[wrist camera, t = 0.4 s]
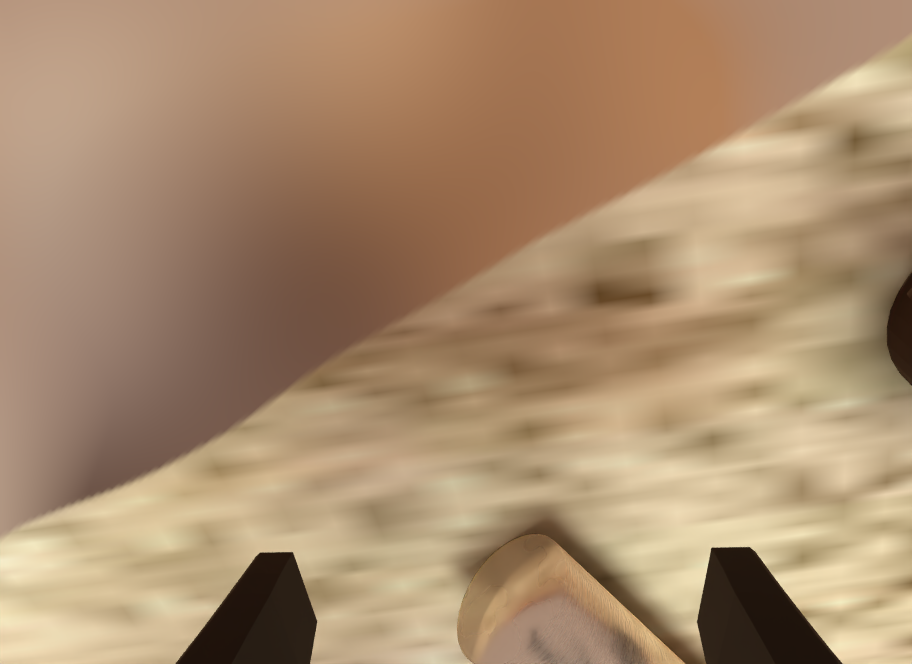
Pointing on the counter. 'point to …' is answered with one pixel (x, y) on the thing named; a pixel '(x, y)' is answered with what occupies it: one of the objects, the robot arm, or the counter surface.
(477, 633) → the tube
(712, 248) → the counter surface
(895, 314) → the coffee mug
